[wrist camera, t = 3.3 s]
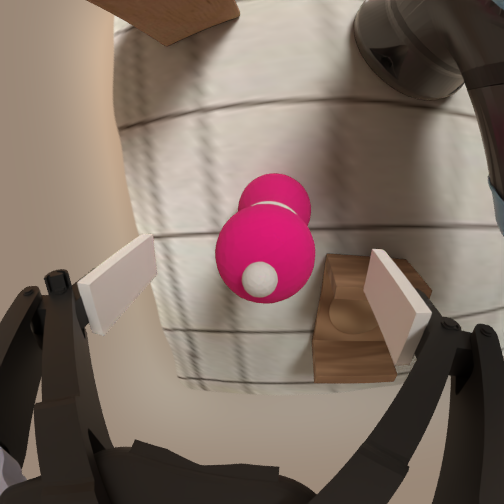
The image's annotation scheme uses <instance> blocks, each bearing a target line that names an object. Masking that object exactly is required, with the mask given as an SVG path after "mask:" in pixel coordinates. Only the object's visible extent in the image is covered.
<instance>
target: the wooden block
mask: <svg viewBox="0 0 504 504" xmlns="http://www.w3.org/2000/svg"><path fill="white" fill-rule="evenodd" d="M87 1H89V2H91V3H93V4H95V5H97V6H99V7H101V8H102V9H104V10H106V11H108V12H110V13H112V14H114V15H115V16H117V17H119V18H121V19H123V20H124V21H126V22H128V23H129V24H131V25H133V26H135V27H136V28H138V29H139V30H141V31H143V32H144V33H146V34H147V35H149V36H151V37H152V38H154V39H155V40H157V41H158V42H160V43H161V44H163V45H164V46H169V45H171V44H173V43H175V42H177V41H179V40H181V39H184V38H186V37H188V36H190V35H192V34H195V33H197V32H199V31H202V30H204V29H207V28H209V27H212V26H214V25H217V24H220V23H223V22H225V21H228V20H231V19H234V18H237V17H239V16H240V11H239V9H238V6H237V4H236V2H235V0H87Z"/></svg>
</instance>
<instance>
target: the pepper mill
mask: <svg viewBox="0 0 504 504" xmlns="http://www.w3.org/2000/svg"><path fill="white" fill-rule="evenodd" d="M310 215H311V204H310V199H309V197H308V194H307V192H306V191H305V189H304V188H303V187H302V185H301V184H300V183H298V182H297V181H296V180H295V179H293V178H291V177H289V176H286V175H283V174H266V175H263V176H260V177H258V178H256V179H254V180H253V181H252V182H251V183H249V184H248V186H247V187H246V188H245V190H244V191H243V193H242V195H241V198H240V201H239V206H238V212H237V213H236V214H235V215H233V216H232V217H231V218H230V219H229V220H228V221H227V222H226V224H225V225H224V226H223V228H222V230H221V232H220V234H219V237H218V240H217V244H216V249H215V258H216V263H217V268H218V271H219V273H220V276H221V278H222V279H223V281H224V282H225V284H226V285H227V286H228V287H229V288H230V289H231V290H232V291H233V292H234V293H236V294H237V295H238V296H240V297H241V298H244V299H246V300H248V301H252V302H256V303H275V302H279V301H282V300H285V299H287V298H289V297H291V296H293V295H294V294H296V293H297V292H298V291H299V290H300V289H301V288H302V287H303V286H304V285H305V284H306V282H307V281H308V279H309V277H310V276H311V273H312V270H313V267H314V262H315V244H314V240H313V238H312V235H311V232H310V230H309V228H308V227H307V226H308V223H309V221H310Z"/></svg>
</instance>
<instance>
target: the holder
mask: <svg viewBox="0 0 504 504" xmlns="http://www.w3.org/2000/svg"><path fill="white" fill-rule="evenodd" d="M391 259H392V260H393V262H394V263H395V264H396V265H397V267H398V268H399V269H400V270H401V272H402V273H403V274H404V275H405V277H406V278H407V279H408V281H409V282H410V283H411V285H412V286H413V287H414V288H418V289H419V290H421V291H422V292H424V293H425V294H426V296H427V297H428V298H429V299H430V296H431V293H432V290H431V288H430V287H429V286H428V285H427V283H426V282H425V281H424V280H423V279H422V277H421V276H420V275H419V274H418V273H417V271H416V270H415V269H414V268H413V267H412V266H411V264H410V263H409V262H408V261H407V260H406V259H394V258H391ZM369 262H370V257H367V256H354V255H341V254H327V255H326V262H325V269H324V276H323V282H322V288H321V295H320V300H319V306H318V312H317V317H316V323H315V328H314V333H313V338H312V353H313V369H314V383H376V382H393V381H394V380H395V378H396V376H397V372H396V369H395V366H394V363H393V361H392V358H391V355H390V353H389V350H388V347H387V345H386V342H385V339H384V336H383V334H382V332H381V329H380V327H379V324H378V322H377V320H376V317H375V315H374V313H373V311H372V308H371V306H370V304H369V302H368V299H367V297H366V295H365V293H364V291H363V290H364V285H365V281H366V276H367V272H368V267H369Z"/></svg>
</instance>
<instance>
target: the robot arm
mask: <svg viewBox="0 0 504 504" xmlns="http://www.w3.org/2000/svg"><path fill="white" fill-rule="evenodd" d="M354 34H355V39H356V42H357V45H358V48H359V50H360V52H361V54H362V56H363V57H364V59H365V61H366V62H367V63H368V65H369V66H370V67H371V69H372V70H373V71H374V72H375V73H376V74H377V75H378V76H379V77H380V78H381V79H382V80H383V81H385V82H386V83H387V84H388V85H390V86H391V87H393V88H394V89H396V90H397V91H399V92H401V93H403V94H405V95H407V96H410V97H413V98H416V99H421V100H436V99H440V98H445V97H448V96H450V95H452V94H454V93H456V92H457V91H458V90H459V89H460V88H461V87H462V86H463V84H464V83H465V85H466V88H467V90H468V94H469V97H470V99H471V102H472V105H473V108H474V111H475V114H476V118H477V121H478V125H479V129H480V132H481V136H482V141H483V145H484V149H485V154H486V159H487V165H488V170H489V176H488V184H489V187H490V189H491V191H492V195H493V202H494V209H495V217H496V221H497V225H498V227H499V229H500V231H501V233H502V235H503V236H504V0H365V1H364V3H363V4H362V5H361V7H360V9H359V11H358V13H357V15H356V17H355V21H354ZM156 275H157V267H156V259H155V250H154V240H153V234H141V235H140V236H138V237H137V238H136V239H134V240H133V241H131V242H130V243H129V244H127V245H126V246H124V247H123V248H122V249H121V250H119V251H118V252H116V253H115V254H113V255H112V256H111V257H109V258H108V259H107V260H105V261H104V262H103V263H101V264H100V265H99V266H98V267H96V268H94V269H92V270H91V271H90V272H89V273H88V274H86V275H85V276H84V277H82V278H81V279H80V280H78V281H77V282H76V283H75V284H73V285H71V281H70V278H69V274H68V271H67V270H64V269H63V270H62V269H60V270H55V271H52V272H50V273H48V274H47V275H46V276H45V278H44V280H45V284H46V287H47V290H48V293H49V295H41V293H40V290H39V288H38V287H37V286H31V287H30V286H29V287H26V288H24V290H22V291H21V292H20V293H19V294H18V296H17V297H16V299H15V300H14V302H13V303H12V305H11V306H10V308H9V309H8V311H7V313H6V314H5V316H4V317H3V319H2V321H1V323H0V504H387V503H388V502H389V500H390V499H391V497H392V496H393V494H394V493H395V492H396V490H397V489H398V487H399V486H400V484H401V482H402V481H403V479H404V478H405V476H406V474H407V472H408V470H409V466H407V465H408V462H409V461H410V459H411V457H412V455H413V454H414V452H415V450H416V448H417V446H418V444H419V442H420V441H421V439H422V437H423V434H424V433H425V431H426V428H427V426H428V424H429V422H430V420H431V417H432V416H433V413H434V411H435V409H436V406H437V403H438V401H439V399H440V396H441V394H442V391H443V389H444V386H445V383H446V380H447V378H448V375H451V392H450V409H449V419H448V429H447V436H446V443H445V450H444V456H443V461H442V466H441V471H440V476H439V479H438V484H437V487H436V491H435V495H434V499H433V502H432V504H504V360H503V355H502V351H501V347H500V343H499V339H498V336H497V334H496V332H495V331H494V330H493V328H492V327H490V326H489V325H485V324H477V325H476V326H475V328H474V330H473V332H472V333H470V332H465V331H461V327H460V325H459V324H458V323H457V322H456V321H455V320H453V319H451V318H448V317H442V316H441V314H440V313H439V312H438V310H437V309H436V308H435V306H434V305H433V303H432V302H431V301H430V300H429V298H428V297H427V296H426V294H425V293H424V292H422V291H421V290H419V289H418V288H414V287H413V286H412V285H411V283H410V282H409V281H408V279H407V278H406V277H405V275H404V274H403V273H402V272H401V270H400V269H399V268H398V267H397V265H396V264H395V263H394V262H393V260H392V259H391V258H390V257H389V255H388V254H387V253H386V252H385V251H384V250H382V249H372V252H371V257H370V262H369V267H368V272H367V276H366V281H365V285H364V290H363V291H364V293H365V295H366V297H367V299H368V302H369V304H370V306H371V308H372V311H373V313H374V315H375V317H376V320H377V322H378V324H379V327H380V329H381V332H382V334H383V336H384V339H385V341H386V344H387V346H388V349H389V351H390V354H391V357H392V359H393V362H394V364H395V365H409V364H410V363H411V361H412V358H413V356H414V354H415V356H416V358H417V361H416V363H415V364H414V366H413V368H412V370H411V372H410V374H409V375H408V377H407V379H406V381H405V382H404V384H403V386H402V388H401V389H400V391H399V393H398V394H397V396H396V398H395V399H394V401H393V402H392V404H391V405H390V407H389V408H388V410H387V411H386V413H385V414H384V416H383V417H382V419H381V420H380V422H379V423H378V424H377V426H376V427H375V428H374V430H373V431H372V433H371V434H370V435H369V437H368V438H367V439H366V441H365V442H364V443H363V444H362V445H361V446H360V447H359V449H358V450H357V451H356V452H355V454H354V455H353V456H352V457H351V459H350V460H349V461H348V462H347V463H346V464H345V466H344V467H343V468H342V469H341V470H340V471H339V472H338V474H337V475H336V476H335V477H334V478H333V479H332V480H331V481H330V482H329V483H328V484H327V485H326V486H325V487H324V488H323V489H322V490H321V491H320V492H319V493H318V494H315V493H314V492H313V491H312V490H310V489H309V488H308V487H306V486H305V485H303V484H301V483H299V482H297V481H296V480H293V479H290V478H288V477H285V476H281V475H279V467H274V466H260V465H250V464H231V465H205V466H204V465H199V464H196V463H194V462H192V461H190V460H188V459H186V458H183V457H181V456H179V455H178V454H175V453H174V452H171V451H170V450H168V449H165V448H161V447H158V446H154V445H151V444H148V443H144V442H141V441H139V440H135V441H134V443H133V445H132V447H115V448H114V447H113V445H112V442H111V440H110V437H109V434H108V430H107V427H106V424H105V420H104V417H103V414H102V409H101V405H100V402H99V398H98V393H97V389H96V384H95V379H94V374H93V369H92V365H91V358H90V353H89V346H88V338H87V332H86V329H85V326H86V325H87V324H88V323H89V325H90V327H91V330H92V332H93V333H95V334H99V335H103V336H104V335H105V334H106V333H107V332H108V331H109V329H110V328H111V327H112V326H113V325H114V323H115V322H116V321H117V320H118V319H119V318H120V316H121V315H122V314H123V313H124V312H125V311H126V309H127V308H128V307H129V306H130V305H131V303H132V302H133V301H134V300H135V299H136V298H137V297H138V295H139V294H140V293H141V292H142V291H143V290H144V289H145V288H146V286H147V285H148V284H149V283H150V282H151V281H152V280H153V279H154V278H155V277H156ZM41 376H42V402H40V403H36V404H35V400H36V396H37V391H38V387H39V383H40V380H41ZM34 404H35V405H34ZM33 409H34V424H35V436H36V445H37V453H38V460H39V467H40V472H41V476H39V477H36V478H33V479H30V480H27V479H26V478H25V476H23V475H22V471H21V469H22V467H23V463H24V459H25V456H26V450H27V444H28V437H29V430H30V424H31V419H32V414H33Z"/></svg>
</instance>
